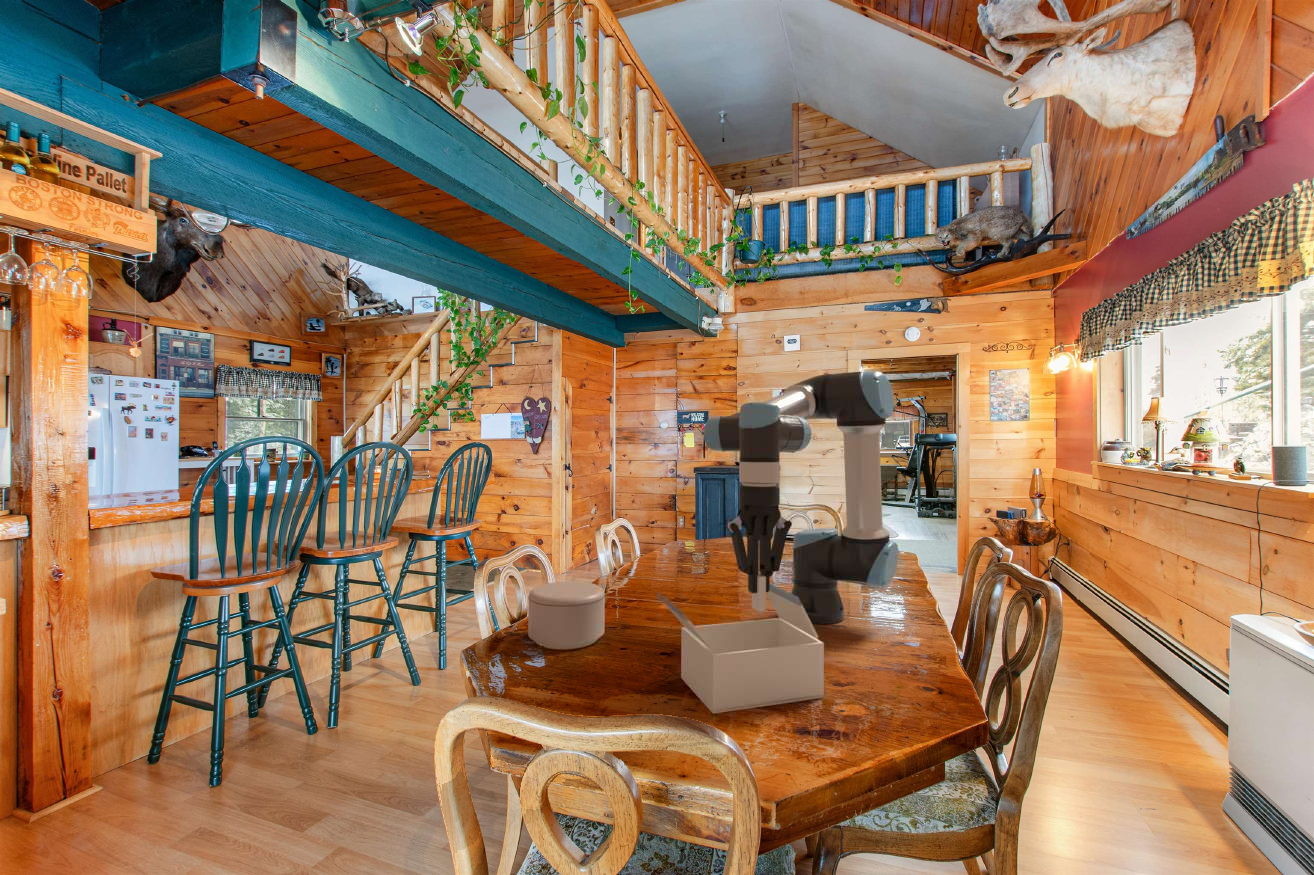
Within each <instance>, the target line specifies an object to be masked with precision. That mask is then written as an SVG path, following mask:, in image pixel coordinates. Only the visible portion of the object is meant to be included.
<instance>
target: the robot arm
mask: <svg viewBox="0 0 1314 875" xmlns="http://www.w3.org/2000/svg"><path fill="white" fill-rule="evenodd" d="M894 407H895V397H894V392H893V389H892V385H891V382H890V381H889V379H888V377H887V376H886V375H885V374H884V373H883V372H881V371H877V370H876V371H875V370H861V371H854V372H853V371H851V372H841V373H839V372H838V373H825V374H819V375H815V376H813V377H809V378H807V379H805V380H802V381H800V382H797V383H795V384H793V385H790V386H788V387H786V388H785V389H784V391H782V393H781V394H778V395H776V396H775V397H772V398H770V399H767V400H764V401H762V402H761V401H756V402H755V401H754V402H753V401H752V402H745V403H743V404H741V406H740V407H739V408H740V409H739V411H738V412H736V413H733V414H731V415H727V416H723V415H720V416H713V417H711V418H709V419H707V421H706V422H705V423H704V424H705V425H704V428H703V439H704V443H705V445H706V446H707V448H708V449H710V450H712V451H715V452H716V451H717V452H723V453H725V452H739V463H738V464H739V467H738V468H739V470H738V471H739V473H738V474H739V475H738V478H739V480H738V481H739V482H740V483H741V485H740V486H739V488H738V489H739V490H738V492H739V493H738V504H739V510H738V511H737V514H736V515H737V517H736V518H734V519H733V520H731V521H727V522H726V523H725V528H727V530H728V532H729V533H730V537H731V541H732V546H733V550H734V554H735V559H736V563H737V564H736V565H737V569H738V570H739V571H740V572H741V573H744V574H745V575H747V589H748V592H749V593H750V594H751V609H752V610H754V611H756V612H758V613H763V612H766V611H767V607H766V606H767V604H766V603H767V600H766V599H767V596H766V595H767V593H766V592H769V590H770V584H771V582H770V581H771V580H770V579H771V577H772V576H773V574H774V573H775V572H779V571H780V568H781V564H782V559H783V554H784V549H785V545H786V540H787V536H788V533H789V531H790V529H791V527H792V525H793V523H792V521H791V520H788V519H785V518H784V517H782V513H781V511H780V509H779V508H780V507H779V505H780V502H781V501H780V494H781V493H780V492H781V490H780V489H781V488H780V487H779V485H777V484H779V483H780V482H781V479H780V478H781V475H780V474H781V473H780V472H781V470H780V469H781V468H780V465H781V464H780V453H788V454H789V453H791V454H792V453H793V454H794V453H796V452H801V451H803V450H804V449H806V448H807V447H808V445H809V444H810V442H811V440H812V428H811V426H810V423H808V420H814V419H815V420H820V419H822V420H823V419H824V420H828V419H829V420H836V428H837V429H839V430H840V431H841V432H842V434H843V457H844V458H843V459H844V482H845V483H844V484H845V508H846V509H845V511H846V514H845V515H846V526H845V527H844V528H843V529H841V532H839V531H838V530H837V529H836V528H835V529H834V528H817V529H814V528H813V529H806V530H801V531H798V532H796V533H794V536H793V544H792V557H793V558H792V563H793V564H792V578H793V579H792V581H793V582H792V588H791V590H790V593H791V594H793V595H795V596H797V597H799V599H800V601H801V603H802V605H803V607H804V609H805V611H806V613H807V615H808V617H809V619H810V621H811V623H812V624H835V623H839V622H842V621H843V620H844V619H845V607H844V604H843V601H842V598H841V594H840V592H839V589H838V588H839V587H838V582H844V583H850V584H854V585H855V584H856V585H861V586H866V587H876V588H886V587H887V586H888V585H890V583H891V582H892V580H893V579H894V577H895V574H896V571H897V568H898V564H899V555H900V554H899V553H900V552H899V551H900V550H899V548H898V547H899V546H898V544H897V542H895V541H894V540H890V531H888V530H887V529H886V528H885V527H884V526H883V502H882V499H883V498H882V471H881V467H882V466H881V440H880V432H881V430H882V429H883V428H884V427H886V419H888V418H891V417H892V415H893V413H894ZM742 527H743V528H744V530H745V537H746V546H745V541H744V536H743V534H742V531H741V530H742ZM775 527H776V528H775ZM774 529H775V531H774V534H773V530H774ZM839 534H840V535H839ZM759 572H760V573H759Z"/></svg>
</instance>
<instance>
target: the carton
mask: <svg viewBox="0 0 1314 875" xmlns="http://www.w3.org/2000/svg"><path fill="white" fill-rule="evenodd" d="M694 626H695V627H696V628H697V629H698V631H699V632H700V633H701V634H702V635H703V636H704V637H705V638H706V639H707V641H708V642H709V643H710V644H711V645H712V646H713V647H714V649H713V650H711V649H710V648H709V647H708V646H707V645H706V644H704V643H703V642H702V641H701V640H700V639H699V638H698V637H696V636H695V635H694V634H693V633H692V632H691V631H689V630H688V629H687V628H686V627H685V626H683V627H682V626H681V632H680V633H681V635H680V636H681V643H680V644H681V645H680V646H681V649H680V650H681V651H680V654H681V657H680V658H681V659H680V660H681V662H680V664H681V667H680V672H681V673H680V677H681V679H682V680H683V682H684V683H685V684H686V685H687V686H688V687H689V688H690V689H691V691H692V692H693V693H694V694H695V695H696V697H698V699H700V701H701V702H702V703H703V704H704V705H705V706H706V708H707V709H708V710H709V711H710V712H711V714H720V713H726V712H732V711H739V710H746V709H755V708H759V707H760V708H762V707H766V706H767V707H768V706H774V705H776V706H777V705H782V704H788V703H795V702H801V701H802V702H803V701H807V700H808V701H809V700H815V699H816V700H817V699H822V698H825V697H824V696H825V695H824V694H825V693H824V691H825V690H824V689H825V685H824V682H825V668H824V667H825V665H824V664H825V642H823V641H821V640H819V639H818V638H817V639H816V638H814V637H813V636H811V635H809V634H808V633H806V632H804V631H802V630H801V629H799V628H797V627H795V626H794V625H792V624H790V623H788V622H787V621H785V620H783V619H781V618H780V617H777V618H766V619H765V618H764V619H757V620H755V619H754V620H753V619H752V620H745V621H734V622H723V623H714V624H704V625H701V624H700V625H694Z"/></svg>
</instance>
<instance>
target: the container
mask: <svg viewBox="0 0 1314 875" xmlns="http://www.w3.org/2000/svg"><path fill="white" fill-rule="evenodd" d="M605 597H606V594H605V591H604V589H603V588H602V587H601V586H599V585H598V584H595V583H591V582H587V581H572V580H570V581H568V580H567V581H566V580H565V581H555V582H548V583H545V584H544V583H543V584H541V585H538V586H535V587H534V588H532V589H531V590H530V592H529V594H528V597H527V598H528V613H527V614H528V623H527V625H528V631H527V634H528V637H529V639H530V640H532V641H534V642H536V643H537V644H536V643H535V644H536V645H538V644H539V645H540V647H542V646H544V647H543V648H545V647H546V649H552V650H573V649H581V648H585V647H587V646H591V645H593V644H594V643H596V642H597V641H598V639H600V638H601V637H602V636H603V635H604V634H605V611H606V609H605V607H606V606H605V603H606V602H605V601H606V599H605ZM539 645H538V646H539Z"/></svg>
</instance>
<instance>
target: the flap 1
mask: <svg viewBox="0 0 1314 875" xmlns="http://www.w3.org/2000/svg"><path fill="white" fill-rule="evenodd" d="M656 597H657V598H659V599H660V601H661V602H662V603H663V604H664V605H665V606H666V608H668V610H669V611H670V612H671V613H672V614H673V615H674V616H675V618H677V620H678V621H679V622H680V623H681V625H683V627H686V628H687V629H688V630H689V631H691V632H692V633H693V634H694V635H695V636H696V637H698V638H699V639H700V640H701V641H702V642H703V643H704V644H706V645H707V646H708V647H709V648H710V649H711V650H713V649H714V647H713V646H712V645H711V644H710V643H709V642H708V641H707V639H706V638H705V637H704V636H703V635H702V634H701V633H700V632H699V631H698V629H697V628H696V627H695V626H696V625H694V624H693V623H692V621H690V619H689V618H688V617H687V616H686V615H685V613H683V612H682V611H681V610H680V609H679V608H678V607H676V606H675V605H673V603H671V602H670V601H668V600H667V599H666V598H665V597H663V596H662V595H661V594H660V593H657V594H656Z"/></svg>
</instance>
